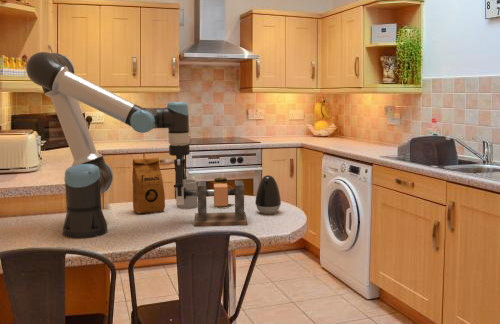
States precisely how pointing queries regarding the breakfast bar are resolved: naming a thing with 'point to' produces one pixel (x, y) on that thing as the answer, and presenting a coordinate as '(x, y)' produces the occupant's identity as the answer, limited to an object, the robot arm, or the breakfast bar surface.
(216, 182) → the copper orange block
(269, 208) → the black egg shaped speaker
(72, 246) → the breakfast bar surface
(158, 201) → the coffee package
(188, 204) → the mug
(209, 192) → the shaft
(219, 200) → the block
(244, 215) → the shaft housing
